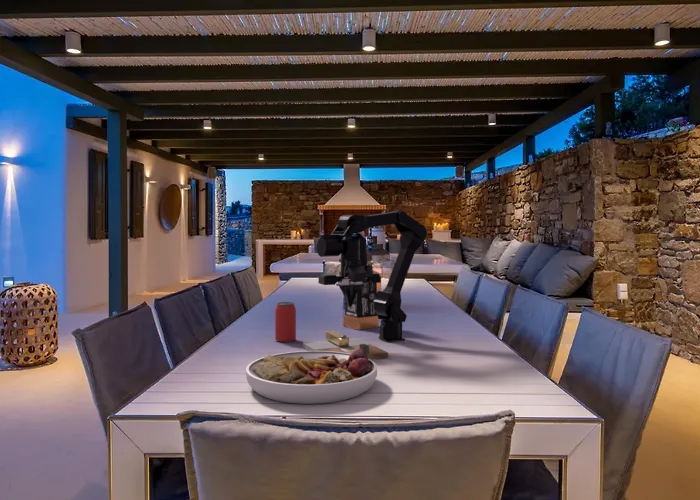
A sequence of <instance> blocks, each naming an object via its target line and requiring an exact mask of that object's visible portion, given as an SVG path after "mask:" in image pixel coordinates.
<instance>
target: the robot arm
mask: <svg viewBox="0 0 700 500" xmlns="http://www.w3.org/2000/svg"><path fill="white" fill-rule="evenodd" d="M388 225H394V227H395V229H396V231H397V232H398V233H399V234H400V236H399V243H400V248H399V252H398V254H397V257H396V260H395V262H394V265H393V268H392V271H391V273H390V276H389V279H388V281H387V284H386V286H385V288H384V289H382V290H377V295H376V298H375V300H374V301H373V302H375V303H374V309H375V312H376V313H377V316H378V319H379V320H380V324H379V336H378V339H380V340H383V341H385V342H387V343H388V342H389V343H390V342H398V341H405V338H404V337H403V323H405V322H406V320H407V316H408V315H407V314H406V313H405V312H404V311H403V309H402V308H401V306H402V295H401V293H402V290H403V286H404V284H405V282H406V279H407V275H408V272H409V270H410V267H411V264H412V261H413V259H414V256H415V254H416V251H418V250H419V249H420V248H421V247H422V246H423V244H424V243H425V240H426V239H427V236H428V231H427V228H426V227H425V225H423V224H422V223H420V222H419V221H417V220H416V219H415V218H413V217H411V216H410V215H408V213H406V212H405V211H404V210H393V211H391V212H382V213H376V214H368V215H363V214H362V215H361V214H344V215H341V216H340V217H339V218H338V222H337V224H336V226H335V227H334V229H333V231H332V232H331V234H329V233H320V235H319V239H318V240H317V244H316V252H317V255H318V256H319V257H320V258H322V257H323V258H324V257H325V258H327V257H329V258H330V257H339V256H340V258H339V263H340V272H339V271H338V272H339V273H338V274H339V275H338V276H337V275H336V274H332V273H324V274H323V273H321V274H320V275H319V276H318V279H317V280H318V283H317V284H319V285H324V286H337V287H339V289H340V290H341V293H342V294H343V298H344V301H345V300H346V302H347V305H348V307H352V304H353V302H354V299H355V296H356V293H357V291H358V290H359V288H360V287H361V286H364V284H362V282H366V281H371V283H377V284H381V283H382V276H381V274H380V273H378V272H377V273H373V270H374V268H373V265H371V264H370V265H368V264H367V265H365V266H362V264H361V260H360V259H359V241H365V240H366V241H367V239H366V238H365V237H364V236H363V235H362V234H361V233H362V232H365V231H367V230H368V229H371V228H376V227H381V226H382V227H383V226H388ZM346 277H348V278H346ZM349 282H351V283H349Z"/></svg>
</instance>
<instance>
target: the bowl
mask: <svg viewBox="0 0 700 500" xmlns="http://www.w3.org/2000/svg"><path fill="white" fill-rule="evenodd" d="M377 375H378V365H377V363H376V362H374V361H373V360H370V359H368V354H367V353H366V351H365V350H362V349H358V350H355V351H354V352H352V353H351V354H350V353H343V352H334V351H307V350H301V351H287V352H282V353H281V352H280V353H274V354H271V355H270V354H268V355H266V356H263V357H261V358H258V359H256V360H255V359H254V360H253V361H251V362H249V363H248V365H246V368H245V376H246V381H247V383H248V385H249V386H250V388H251V389H252V390H253V391H255V392H256V393H257V394H259V395H260V396H262V397H264V398H266V399H269V400H271V401H272V400H273V401H276V402H281V403H289V404H299V405H301V404H302V405H303V404H304V405H311V404H312V405H315V404H317V405H318V404H320V405H321V404H330V403H336V402H341V401H342V402H343V401H345V400H349V399H352V398H355V397H359V396H360V395H362V394H364V393H365V392H366V391H368V390H369V389H370V388H371V387H372V386H373V385H374V383H375V381H376V378H377V377H378V376H377Z"/></svg>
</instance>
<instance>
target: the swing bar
mask: <svg viewBox="0 0 700 500" xmlns="http://www.w3.org/2000/svg"><path fill="white" fill-rule="evenodd" d="M349 338H350V337H347V335H345V334H342V333H340V332H337V331H335V330H326V331H325V339H326V340H329V341H331V342H333V343H335V344H337V345H338V346H340V347H346V346H349Z"/></svg>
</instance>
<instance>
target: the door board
mask: <svg viewBox="0 0 700 500" xmlns="http://www.w3.org/2000/svg"><path fill="white" fill-rule="evenodd" d="M358 349H362V350H365V351H366V353H367V354H368V359H370V360H372V361H373V360H382V359H388V358H389V352H388V351H386V350H384V349H381V348H380V347H377V346H375V345H373V344H371V345H366V344H360V346H352V347H349V348H343V349H341V348H331V349H321V350H315V351H334V352H343V353H350V354H351V353H352V352H354V351H355V350H358Z"/></svg>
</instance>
